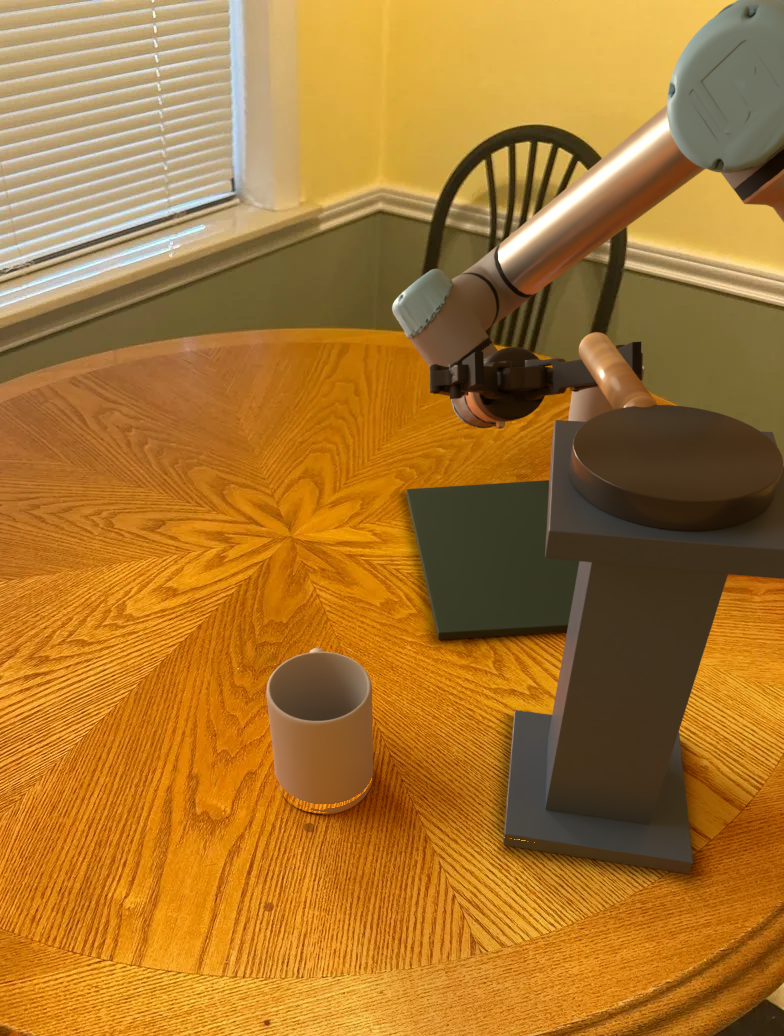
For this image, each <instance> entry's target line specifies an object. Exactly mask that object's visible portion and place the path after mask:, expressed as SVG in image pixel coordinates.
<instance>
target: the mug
mask: <svg viewBox="0 0 784 1036" xmlns="http://www.w3.org/2000/svg"><path fill="white" fill-rule="evenodd" d="M372 684H373V683H372V680H371V677H370V675H369V673H368V672H367V670H366V669H365V668H364V666H362V665H361V664H360V663H359V662H358V661H356V660H354V658H352V657H349V656H346V655H344V654H341V653H337V652H331V651H324V649H322V648H321V647H315V648H311V649H310V650H309V652H306V653H302V654H297V655H295V656H292V657H291V658H289V659H287V660H285V661H284V662H281V664H280V665H278V666H277V667H276V669H274V671H273V672H272V673H271V674H270V676H269V679H268V681H267V684H266V704H267V712H268V721H269V731H270V739H271V746H272V747H271V748H272V755H273V767H274V776H275V775H276V778H277V780H278V782H279V784H280V785H281V787H282V788H283V789H284V790H285V791H286V792H288V793H289V794H291V795H292V796H294V797H296V798H298V799H299V800H302V801H306V802H308V803H313V804H335V803H340V802H344V801H347V800H350V799H351V798H353V797H355V796H356V795H358V794H360V793H361V792H362V791H363V790H364V789H365V788H366V787H367V785H368V784H369V782H370V780H371V778H372V775H373V776H374V773H375V772H373V770H374V749H373V748H374V746H373V745H374V743H373V739H374V737H373V736H374V735H373V685H372ZM373 780H374V777H373V778H372V781H371V783H370V785H369V787H368V788H367V789H366V791H365V792H364V793H363V794H362V795H361V796H359V797H358V798H357V799H355V800H354V801H352V802H350V803H348V804H346V805H343V806H340V807H335V808H327V809H324V810H319V809H314V808H311V809H310V810H313V811H321V812H327V813H324V814H323V815H334V814H339V813H343V812H345V811H347V810H349V809H351V808H353V807H355V806H357V805H358V804H359V803H360V802H361V801H362V800H364V799H365V797H366V796H367V795H368V793H369V791H370V789H371V787H372V785H373ZM277 785H278V784H277V783H276V786H277ZM277 789H278V791H279V793H280V792H281V793H283V792H282V791H280V790H279V789H280V788H279V787H277ZM281 793H280V794H281ZM299 806H303V805H299ZM305 807H306V806H305Z"/></svg>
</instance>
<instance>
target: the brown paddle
mask: <svg viewBox="0 0 784 1036" xmlns="http://www.w3.org/2000/svg"><path fill="white" fill-rule="evenodd" d="M578 356H579V359H580V358H581V360H582V361H583V363H584V364H585V366H586V367H587V369H588V370H589V372H590V374H591V375H592V377H593V378H594V380H595V381H596V383H597V384H598V386H599V387H600V389H601V390H602V392H603V394H604V395H605V397H606V398H607V400H608V401H609V403H610V404H611V406H612V407H613V409H614V410H611V411H608V412H605V413H602V414H600V415H598V416H595V417H593V418H592V419H590V420H588V421H587V422H586V423H584V424H583V425H582V426H581V427H580V428H579V430H578V431H577V432H576V434H575V436H574V439H573V445H572V452H571V458H570V464H569V477H570V479H571V482H572V484H573V486H574V487H575V489H576V490H577V491H578V493H579V494H580V495H581V496H582V497H583V498H585V499H586V500H587V501H588V502H589V503H591V504H592V505H594V506H595V507H597V508H599V509H600V510H602V511H604V512H606V513H608V514H610V515H613V516H615V517H618V518H620V519H623V520H626V521H629V522H632V523H636V524H640V525H644V526H648V527H653V528H659V529H667V530H676V531H707V530H717V529H723V528H728V527H732V526H736V525H739V524H742V523H745V522H747V521H749V520H752V519H753V518H755V517H757V516H759V515H760V514H761V513H762V512H763V511H765V510H766V509H767V508H768V506H769V505H770V504H771V502H772V500H773V497H774V494H775V491H776V488H777V485H778V482H779V479H780V476H781V473H782V470H783V466H784V459H783V454H782V452H781V450H780V448H779V447H778V445H777V446H776V445H775V443H774V442H773V441H772V440H771V439H770V438H769V437H767V436H766V435H765V434H763V433H762V432H761V430H760V429H758V428H756V427H754V426H753V425H750V424H749V423H746V422H744V421H742V420H739V419H737V418H735V417H731V416H729V415H726V414H722V413H719V412H716V411H711V410H706V409H702V408H697V407H691V406H683V405H672V404H658V403H657V401H656V400H655V398H654V397H653V396H652V395H651V393H650V392H649V390H648V388H647V387H645V385H644V384H643V381H642V382H641V381H640V379H639V378H638V377H637V375H636V374H635V373H634V371H633V370H632V369H631V367H630V366H629V365H628V363H627V362H626V361H625V359H624V358H623V357H622V355H621V354H620V352H619V351H618V350H617V348H616V345H615V344H614V343H613V342H612V340H611V339H610V338H609V336H607V335H606V334H605V333H603V332H599V331H598V332H597V331H594V332H591V333H589V334H587V335H585V336H584V337H583V339H581V340H580V343H579V345H578Z"/></svg>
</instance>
